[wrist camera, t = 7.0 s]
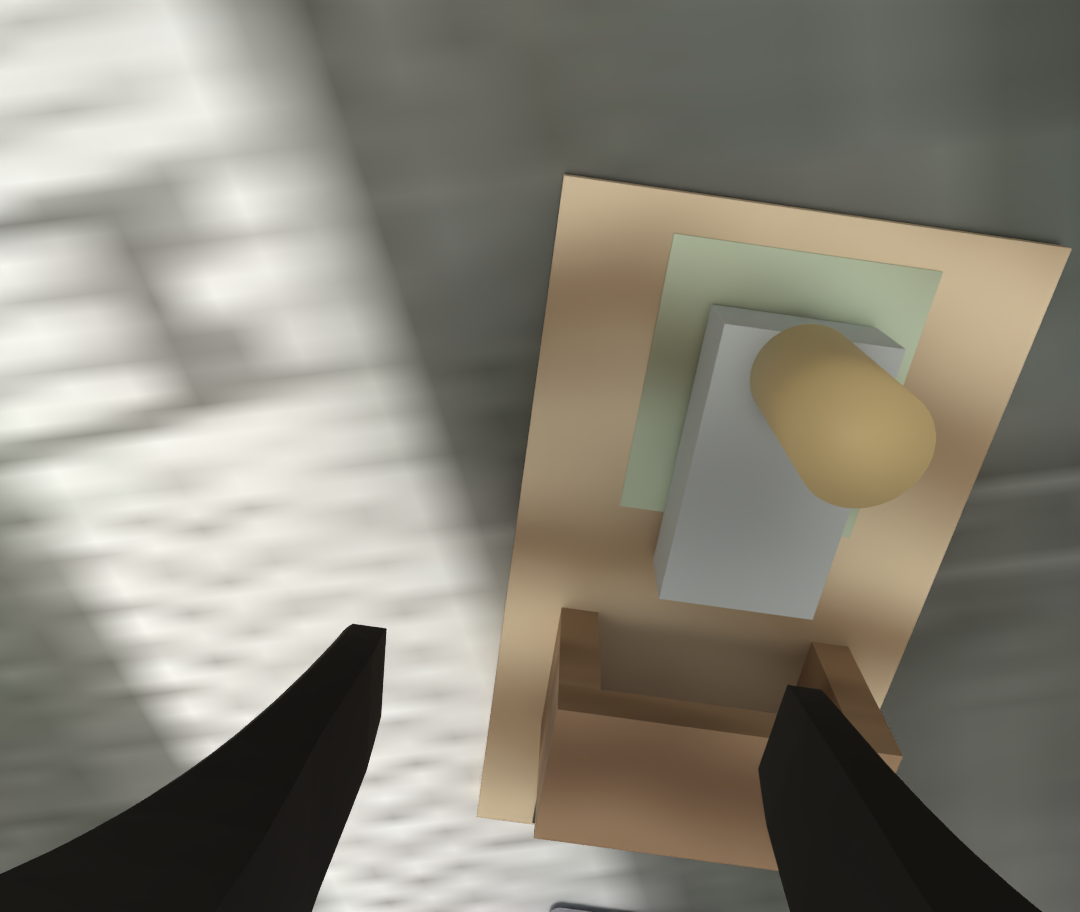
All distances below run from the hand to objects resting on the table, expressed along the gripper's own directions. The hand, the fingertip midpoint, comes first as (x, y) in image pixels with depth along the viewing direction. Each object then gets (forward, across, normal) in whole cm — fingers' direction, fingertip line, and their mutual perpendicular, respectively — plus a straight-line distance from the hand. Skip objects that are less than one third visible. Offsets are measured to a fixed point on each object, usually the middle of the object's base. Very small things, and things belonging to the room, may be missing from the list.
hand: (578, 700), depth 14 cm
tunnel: (+10, -5, +8) cm, 13 cm away
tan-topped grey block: (+10, -5, -1) cm, 11 cm away
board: (+10, -5, +4) cm, 12 cm away
